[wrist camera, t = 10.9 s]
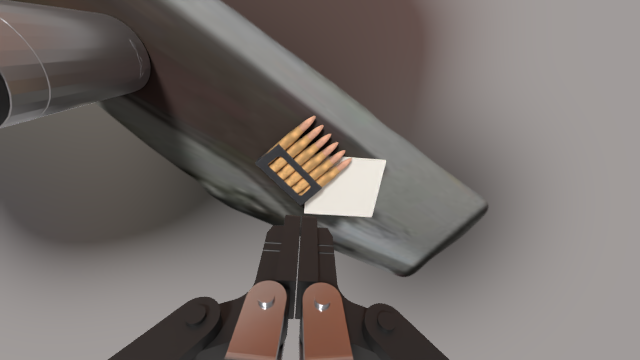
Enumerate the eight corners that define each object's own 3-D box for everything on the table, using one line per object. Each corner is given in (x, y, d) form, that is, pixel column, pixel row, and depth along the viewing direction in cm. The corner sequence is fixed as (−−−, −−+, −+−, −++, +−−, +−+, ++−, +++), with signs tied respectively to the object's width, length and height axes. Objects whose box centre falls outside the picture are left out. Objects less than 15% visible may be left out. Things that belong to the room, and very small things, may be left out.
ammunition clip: (302, 200, 43) (354, 160, 39) (301, 206, 41) (356, 164, 37) (257, 158, 39) (311, 110, 35) (255, 163, 37) (310, 112, 34)
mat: (304, 211, 45) (304, 213, 44) (308, 154, 39) (308, 155, 38) (371, 215, 46) (371, 217, 45) (385, 160, 40) (386, 160, 39)
